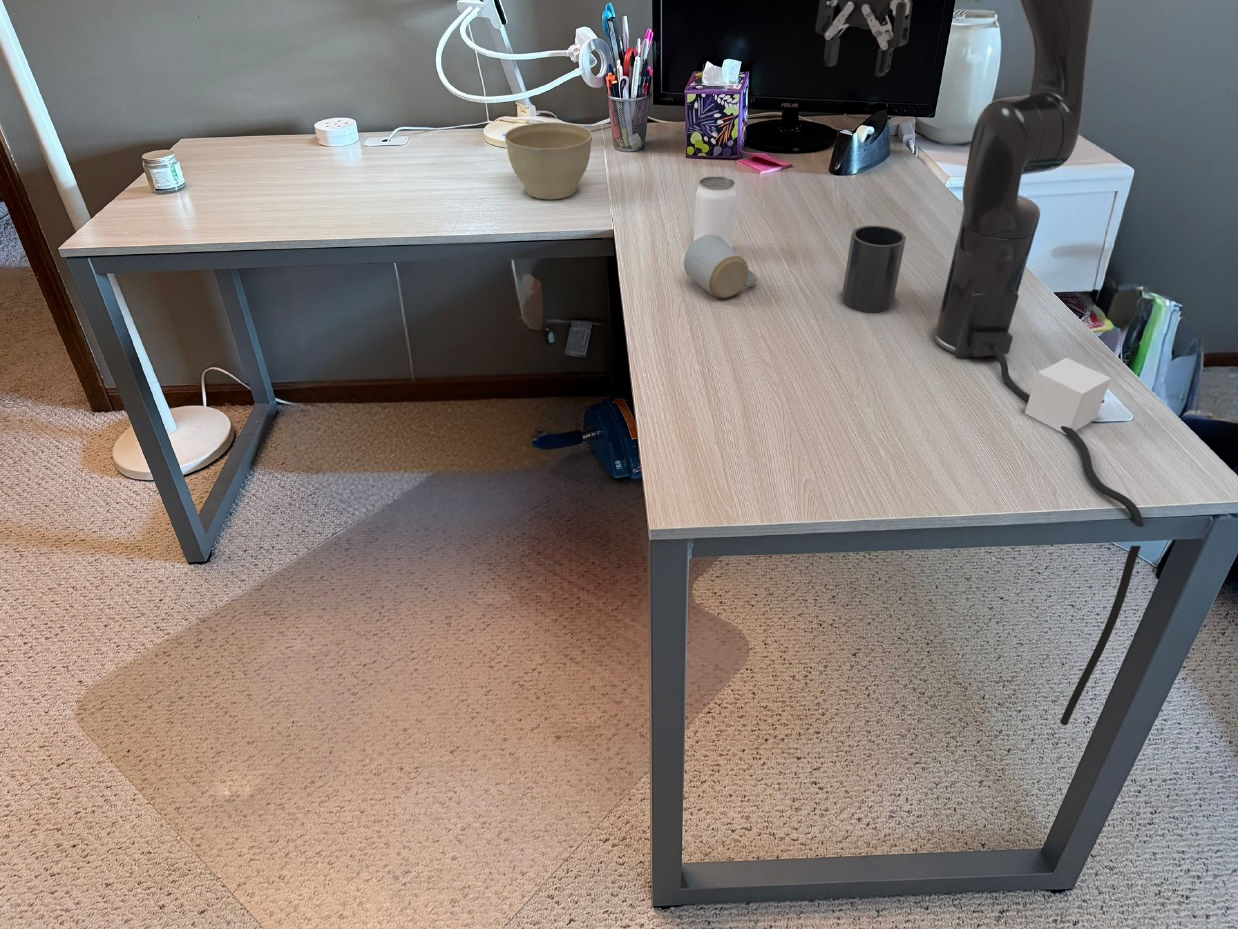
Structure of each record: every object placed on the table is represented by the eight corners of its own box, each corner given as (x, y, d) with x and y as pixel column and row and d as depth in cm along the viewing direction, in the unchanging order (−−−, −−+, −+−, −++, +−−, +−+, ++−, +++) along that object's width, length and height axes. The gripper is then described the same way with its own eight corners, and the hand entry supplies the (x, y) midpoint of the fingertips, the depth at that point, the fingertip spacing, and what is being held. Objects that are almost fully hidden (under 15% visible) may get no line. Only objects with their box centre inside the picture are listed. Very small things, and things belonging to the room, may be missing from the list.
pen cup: (898, 312, 136) (912, 245, 129) (848, 313, 135) (859, 246, 129) (884, 289, 142) (897, 225, 135) (836, 290, 142) (846, 225, 135)
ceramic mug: (709, 305, 137) (713, 258, 133) (681, 284, 143) (684, 238, 138) (767, 292, 141) (772, 245, 137) (737, 271, 147) (742, 226, 142)
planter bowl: (605, 200, 172) (604, 141, 165) (523, 212, 167) (519, 152, 160) (576, 172, 184) (575, 117, 177) (499, 183, 179) (494, 126, 172)
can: (729, 262, 150) (735, 190, 142) (690, 258, 151) (694, 187, 144) (733, 246, 155) (739, 176, 148) (695, 243, 156) (699, 173, 149)
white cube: (1052, 398, 117) (1066, 357, 113) (1095, 419, 113) (1111, 378, 109) (1024, 413, 114) (1037, 372, 111) (1067, 435, 110) (1082, 393, 107)
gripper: (815, -53, 130) (801, 67, 140) (905, -43, 122) (884, 84, 132) (843, -59, 135) (828, 58, 144) (932, -49, 127) (909, 74, 137)
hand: (855, 70), depth 138 cm, fingers open, 8 cm apart
